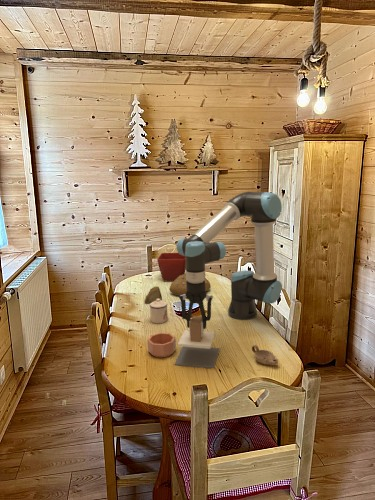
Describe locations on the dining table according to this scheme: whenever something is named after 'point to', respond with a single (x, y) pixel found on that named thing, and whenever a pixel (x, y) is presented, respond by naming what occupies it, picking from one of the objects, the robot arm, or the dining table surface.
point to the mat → (197, 357)
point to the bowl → (161, 344)
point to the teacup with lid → (158, 311)
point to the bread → (183, 285)
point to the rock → (153, 295)
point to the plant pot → (171, 265)
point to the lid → (196, 335)
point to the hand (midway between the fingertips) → (196, 335)
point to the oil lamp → (264, 356)
